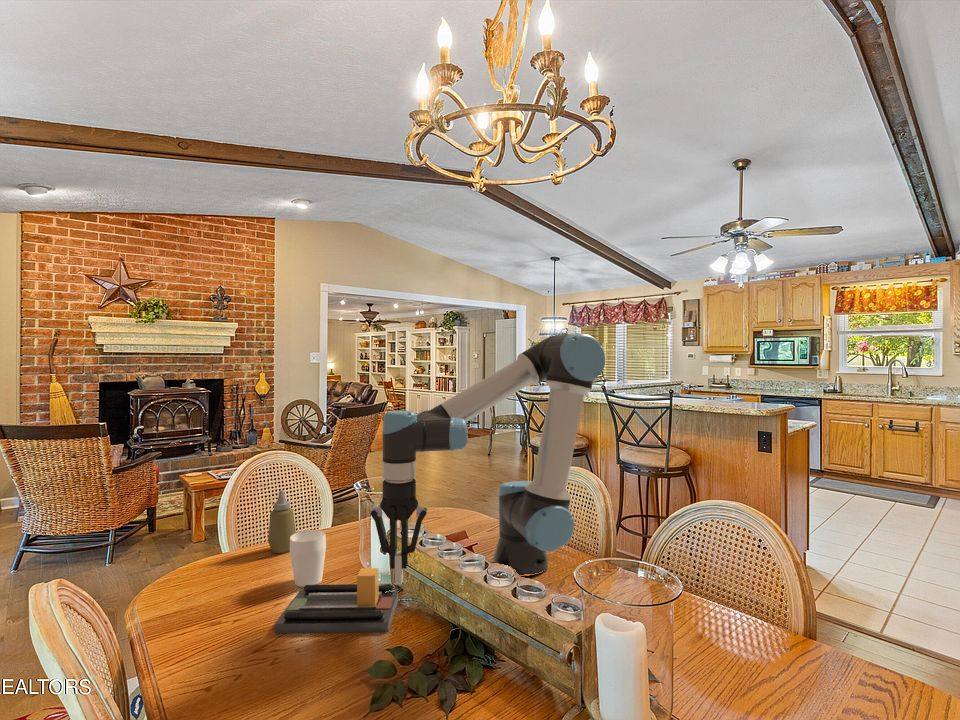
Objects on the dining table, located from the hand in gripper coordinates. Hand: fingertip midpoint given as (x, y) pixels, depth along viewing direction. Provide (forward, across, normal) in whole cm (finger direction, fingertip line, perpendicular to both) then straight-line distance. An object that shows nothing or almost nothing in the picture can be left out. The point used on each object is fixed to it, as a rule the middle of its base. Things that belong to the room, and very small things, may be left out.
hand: (399, 582), depth 113 cm
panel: (+7, +13, 0) cm, 15 cm away
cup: (+8, +26, -16) cm, 32 cm away
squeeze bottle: (+8, +41, -37) cm, 56 cm away
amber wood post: (+5, +7, 0) cm, 8 cm away
